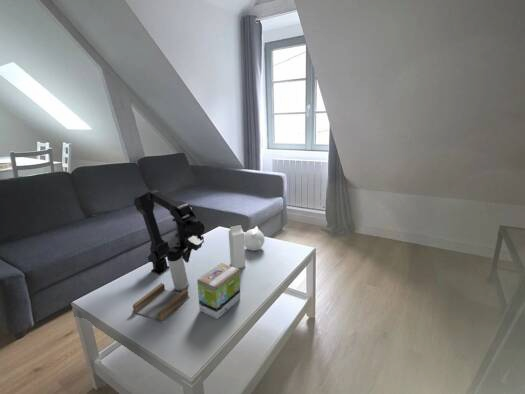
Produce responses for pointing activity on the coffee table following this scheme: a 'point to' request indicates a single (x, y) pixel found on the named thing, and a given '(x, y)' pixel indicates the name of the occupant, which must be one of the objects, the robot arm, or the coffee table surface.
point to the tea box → (219, 290)
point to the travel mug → (178, 270)
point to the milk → (237, 247)
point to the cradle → (160, 303)
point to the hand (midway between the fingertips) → (187, 262)
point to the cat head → (253, 239)
